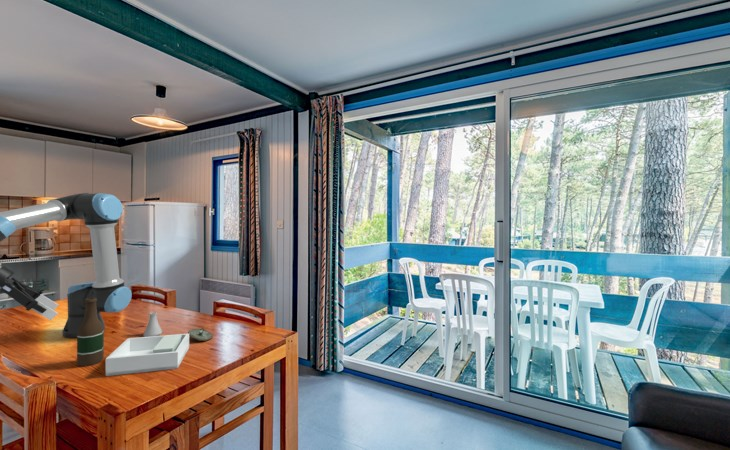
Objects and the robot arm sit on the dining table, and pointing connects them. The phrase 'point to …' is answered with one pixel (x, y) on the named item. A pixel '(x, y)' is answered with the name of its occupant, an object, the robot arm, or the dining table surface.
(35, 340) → the dining table surface
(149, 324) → the flask
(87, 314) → the beer bottle
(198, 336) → the lid
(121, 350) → the tray
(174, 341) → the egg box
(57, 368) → the dining table surface
